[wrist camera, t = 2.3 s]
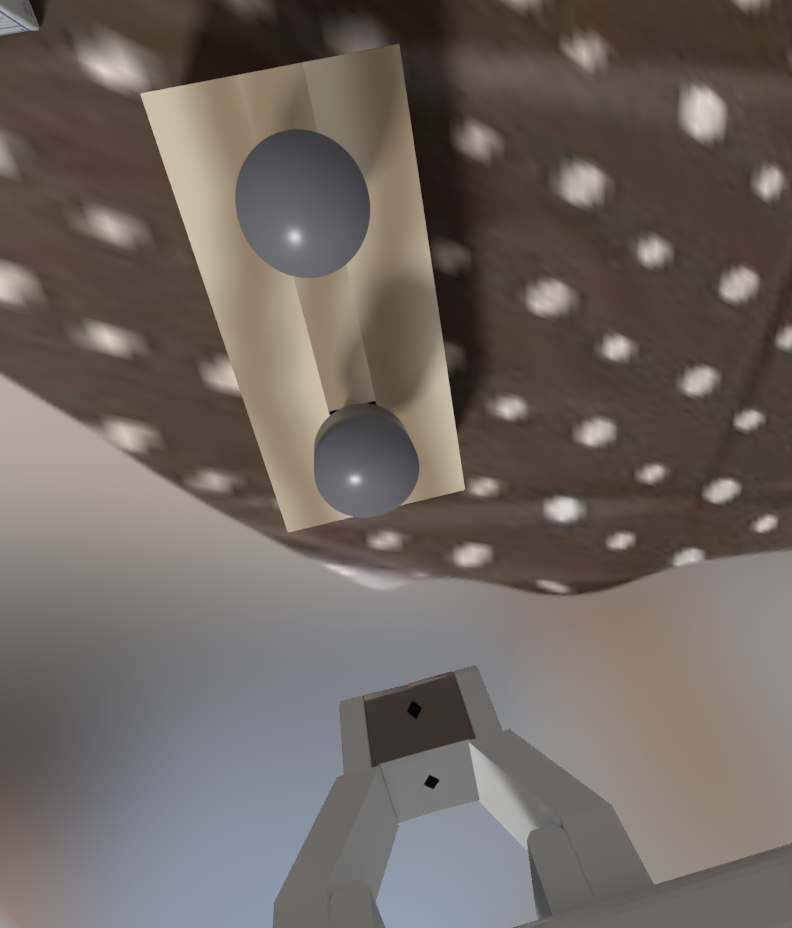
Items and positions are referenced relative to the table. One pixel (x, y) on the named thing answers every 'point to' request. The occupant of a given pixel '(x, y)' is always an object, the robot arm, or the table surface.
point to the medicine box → (16, 17)
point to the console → (322, 298)
